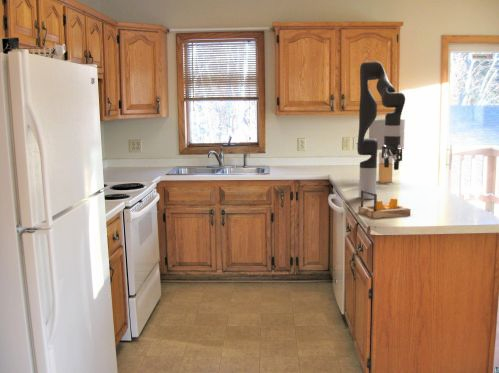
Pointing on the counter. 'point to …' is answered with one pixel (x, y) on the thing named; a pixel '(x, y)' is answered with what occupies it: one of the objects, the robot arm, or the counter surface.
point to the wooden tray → (374, 213)
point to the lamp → (378, 133)
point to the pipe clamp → (390, 206)
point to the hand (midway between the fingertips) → (391, 168)
